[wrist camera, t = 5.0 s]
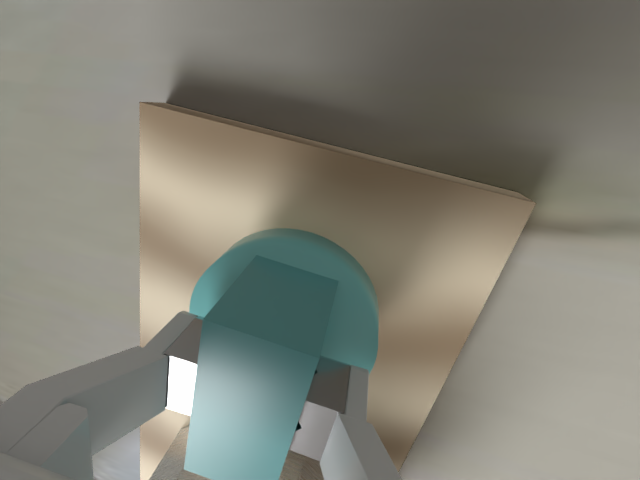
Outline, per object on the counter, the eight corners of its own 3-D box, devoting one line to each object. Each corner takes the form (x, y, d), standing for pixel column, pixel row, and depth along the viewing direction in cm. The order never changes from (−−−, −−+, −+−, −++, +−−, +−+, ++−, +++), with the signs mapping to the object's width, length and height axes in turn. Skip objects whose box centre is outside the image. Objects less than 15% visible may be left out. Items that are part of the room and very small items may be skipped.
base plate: (165, 102, 13) (139, 102, 12) (518, 192, 12) (536, 203, 11) (154, 480, 23) (140, 504, 22) (347, 546, 22) (345, 575, 21)
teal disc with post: (222, 204, 10) (118, 270, 6) (405, 261, 10) (420, 369, 6) (203, 345, 13) (120, 457, 9) (349, 394, 13) (333, 535, 8)
